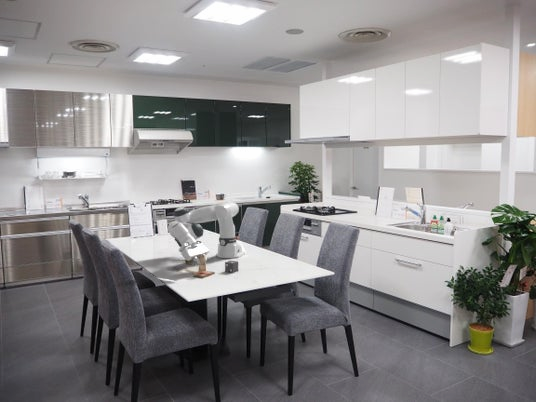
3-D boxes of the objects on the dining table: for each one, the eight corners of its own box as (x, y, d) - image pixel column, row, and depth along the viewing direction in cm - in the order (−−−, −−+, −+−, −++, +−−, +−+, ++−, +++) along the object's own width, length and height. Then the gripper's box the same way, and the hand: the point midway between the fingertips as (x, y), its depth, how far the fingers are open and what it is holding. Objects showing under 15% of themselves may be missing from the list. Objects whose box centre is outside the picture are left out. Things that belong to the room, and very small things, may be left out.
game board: (176, 267, 295) (176, 265, 294) (214, 273, 280) (214, 271, 280) (164, 271, 284) (164, 270, 284) (202, 278, 270) (202, 276, 270)
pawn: (201, 269, 280) (201, 252, 279) (207, 270, 278) (207, 253, 277) (197, 270, 276) (196, 253, 275) (202, 271, 274) (202, 254, 273)
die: (230, 269, 290) (230, 260, 289) (238, 270, 287) (238, 261, 287) (225, 271, 285) (224, 262, 284) (233, 273, 282) (233, 263, 281)
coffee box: (202, 265, 302) (201, 241, 301) (195, 267, 297) (195, 242, 295) (191, 263, 307) (191, 239, 305) (185, 265, 301) (184, 241, 300)
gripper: (197, 245, 290) (210, 261, 287) (176, 250, 272) (189, 268, 269) (203, 238, 288) (215, 255, 284) (182, 244, 270) (195, 262, 266)
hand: (203, 262), depth 276 cm, fingers closed on pawn, 4 cm apart
